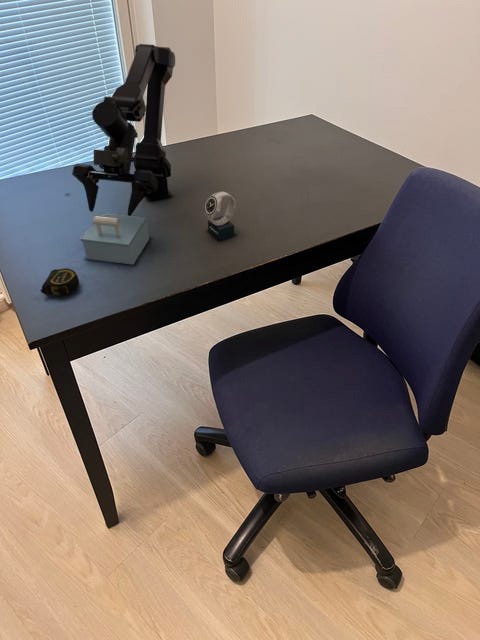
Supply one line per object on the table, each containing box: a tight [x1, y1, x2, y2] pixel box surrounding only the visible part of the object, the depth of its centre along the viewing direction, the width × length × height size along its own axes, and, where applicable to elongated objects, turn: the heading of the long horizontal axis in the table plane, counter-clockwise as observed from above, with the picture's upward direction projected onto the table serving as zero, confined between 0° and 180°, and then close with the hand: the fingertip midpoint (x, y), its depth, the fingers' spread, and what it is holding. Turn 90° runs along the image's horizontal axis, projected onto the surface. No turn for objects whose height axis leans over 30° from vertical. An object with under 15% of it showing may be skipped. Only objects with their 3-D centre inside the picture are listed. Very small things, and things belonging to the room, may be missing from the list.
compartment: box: [82, 220, 150, 266], centre depth 115 cm, size 12×12×5 cm
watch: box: [203, 191, 237, 241], centre depth 119 cm, size 6×8×11 cm
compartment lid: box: [80, 212, 148, 247], centre depth 111 cm, size 12×12×5 cm
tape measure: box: [40, 267, 80, 297], centre depth 103 cm, size 7×7×4 cm
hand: (109, 213), depth 109 cm, fingers open, 9 cm apart
